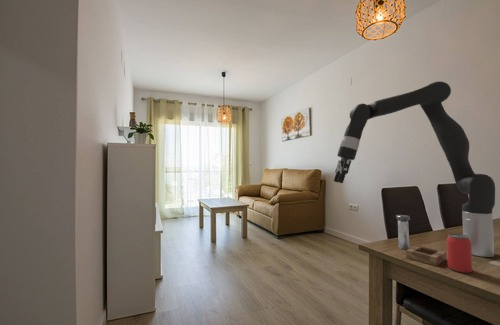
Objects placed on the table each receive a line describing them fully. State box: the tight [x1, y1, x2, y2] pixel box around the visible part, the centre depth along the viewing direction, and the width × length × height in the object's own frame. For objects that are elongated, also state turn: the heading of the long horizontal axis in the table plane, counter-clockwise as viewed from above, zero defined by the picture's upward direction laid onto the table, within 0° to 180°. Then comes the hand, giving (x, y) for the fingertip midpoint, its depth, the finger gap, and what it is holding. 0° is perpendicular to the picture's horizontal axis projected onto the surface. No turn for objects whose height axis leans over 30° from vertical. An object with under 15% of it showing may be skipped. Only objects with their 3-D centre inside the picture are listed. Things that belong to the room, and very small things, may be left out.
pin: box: [395, 214, 411, 251], centre depth 108 cm, size 5×5×14 cm
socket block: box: [405, 245, 447, 267], centre depth 95 cm, size 10×10×3 cm
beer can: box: [446, 233, 473, 274], centre depth 85 cm, size 7×7×12 cm
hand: (337, 182), depth 108 cm, fingers open, 8 cm apart
